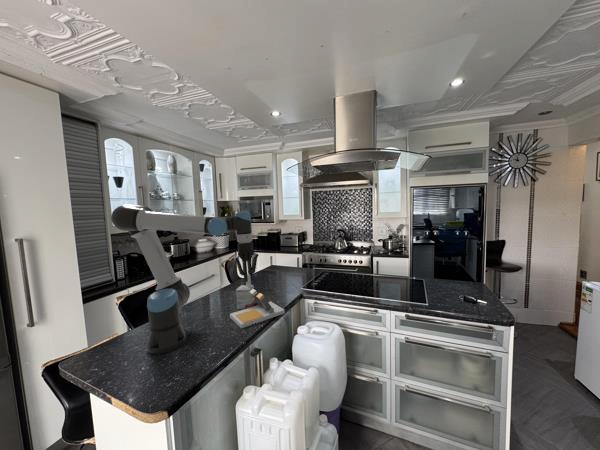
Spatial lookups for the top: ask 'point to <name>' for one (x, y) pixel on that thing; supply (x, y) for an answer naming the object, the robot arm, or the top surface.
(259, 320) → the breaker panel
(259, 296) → the tagged breaker
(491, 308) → the top surface
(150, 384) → the top surface
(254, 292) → the plain breaker
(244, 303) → the ink box
